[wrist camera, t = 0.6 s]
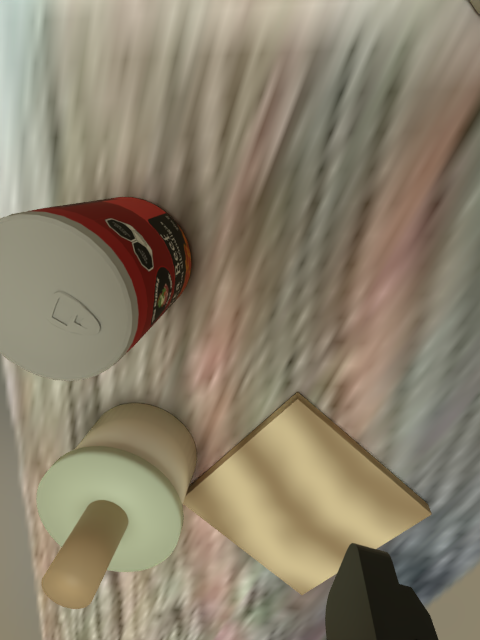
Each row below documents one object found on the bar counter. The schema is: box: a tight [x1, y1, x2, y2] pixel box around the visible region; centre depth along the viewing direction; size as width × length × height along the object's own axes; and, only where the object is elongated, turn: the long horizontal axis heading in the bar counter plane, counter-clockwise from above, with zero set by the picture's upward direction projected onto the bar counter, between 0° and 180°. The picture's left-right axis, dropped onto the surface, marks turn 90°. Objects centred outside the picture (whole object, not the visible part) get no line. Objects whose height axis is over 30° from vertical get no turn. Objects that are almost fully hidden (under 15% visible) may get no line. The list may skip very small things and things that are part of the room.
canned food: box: [0, 197, 191, 381], centre depth 23 cm, size 8×8×11 cm
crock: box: [76, 403, 197, 505], centre depth 31 cm, size 9×9×6 cm
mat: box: [183, 392, 431, 595], centre depth 33 cm, size 14×14×1 cm
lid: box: [36, 446, 184, 609], centre depth 25 cm, size 10×10×6 cm
